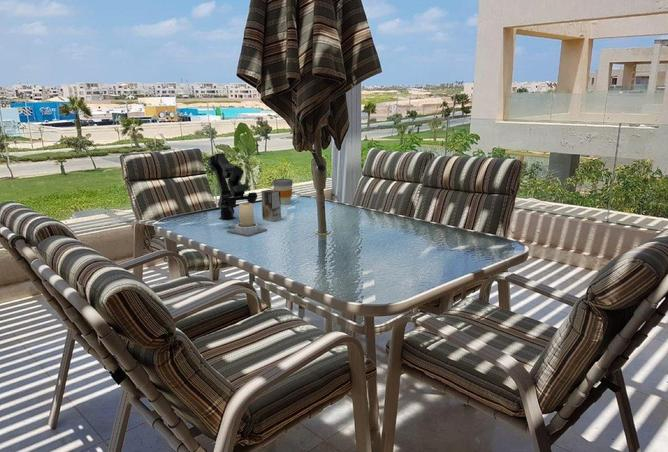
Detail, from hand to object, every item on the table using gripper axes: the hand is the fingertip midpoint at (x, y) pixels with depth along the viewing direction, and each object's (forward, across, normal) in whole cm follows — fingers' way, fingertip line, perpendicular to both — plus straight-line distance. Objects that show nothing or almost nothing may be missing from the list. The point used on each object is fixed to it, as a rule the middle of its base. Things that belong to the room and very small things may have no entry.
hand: (242, 212), depth 254 cm
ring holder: (+10, 0, +2) cm, 11 cm away
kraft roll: (+10, 0, +1) cm, 10 cm away
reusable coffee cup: (-29, +43, +43) cm, 68 cm away
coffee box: (-3, +20, +16) cm, 26 cm away
